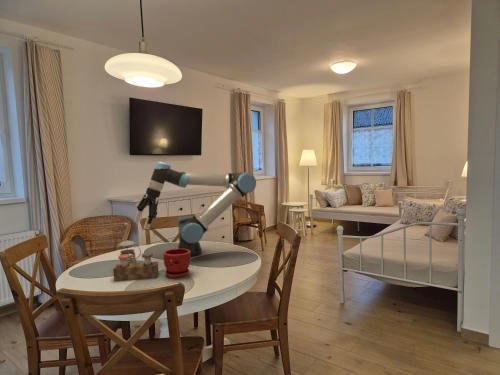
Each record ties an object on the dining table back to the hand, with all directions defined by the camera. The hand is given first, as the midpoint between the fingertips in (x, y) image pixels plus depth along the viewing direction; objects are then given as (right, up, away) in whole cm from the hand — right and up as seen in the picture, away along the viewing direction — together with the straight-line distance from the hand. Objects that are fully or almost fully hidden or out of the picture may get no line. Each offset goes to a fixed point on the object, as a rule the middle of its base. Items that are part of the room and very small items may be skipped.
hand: (140, 225), depth 175 cm
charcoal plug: (+9, -19, -16) cm, 26 cm away
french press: (-5, -23, -3) cm, 24 cm away
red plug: (-2, -20, -18) cm, 27 cm away
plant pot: (+24, -23, -14) cm, 36 cm away
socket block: (+4, -23, -16) cm, 29 cm away
